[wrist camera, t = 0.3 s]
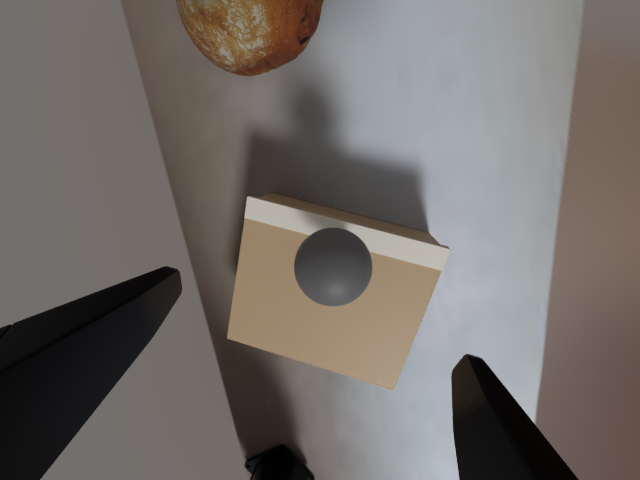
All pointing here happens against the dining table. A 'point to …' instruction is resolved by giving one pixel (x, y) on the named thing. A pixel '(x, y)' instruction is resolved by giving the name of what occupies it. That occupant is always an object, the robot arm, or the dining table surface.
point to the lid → (331, 290)
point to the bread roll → (250, 31)
